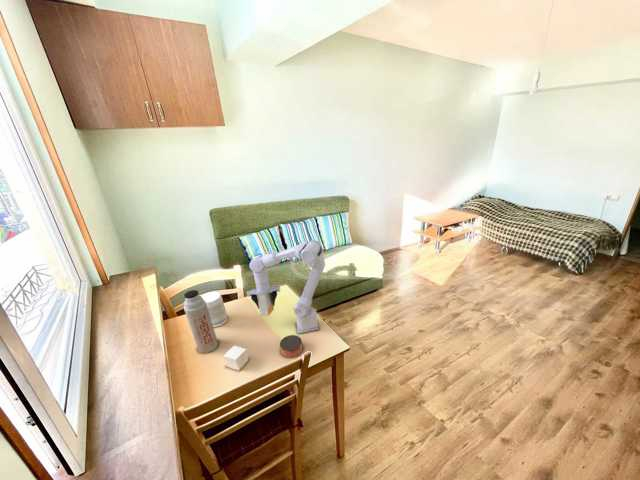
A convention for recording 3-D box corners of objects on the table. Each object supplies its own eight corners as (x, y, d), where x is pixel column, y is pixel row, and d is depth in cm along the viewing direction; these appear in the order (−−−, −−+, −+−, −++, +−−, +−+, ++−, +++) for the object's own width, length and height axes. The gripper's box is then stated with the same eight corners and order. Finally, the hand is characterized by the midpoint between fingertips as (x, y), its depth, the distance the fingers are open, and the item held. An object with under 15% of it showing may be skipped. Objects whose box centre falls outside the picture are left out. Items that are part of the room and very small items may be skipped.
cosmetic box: (268, 316, 130) (264, 295, 124) (260, 315, 130) (256, 294, 125) (274, 309, 135) (271, 288, 129) (266, 308, 136) (262, 287, 130)
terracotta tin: (300, 340, 125) (300, 333, 123) (304, 354, 117) (303, 347, 115) (280, 344, 123) (279, 337, 121) (281, 359, 115) (280, 352, 113)
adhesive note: (238, 370, 110) (235, 359, 107) (226, 366, 112) (223, 355, 109) (248, 359, 115) (246, 348, 112) (236, 355, 117) (234, 345, 114)
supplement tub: (231, 316, 140) (225, 292, 133) (220, 328, 132) (213, 303, 125) (214, 314, 142) (207, 290, 135) (202, 326, 134) (194, 301, 127)
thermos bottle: (218, 348, 121) (202, 295, 108) (198, 355, 117) (179, 301, 104) (217, 337, 127) (201, 285, 114) (197, 343, 124) (179, 290, 111)
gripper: (277, 274, 130) (281, 298, 136) (245, 279, 126) (250, 303, 132) (278, 282, 124) (282, 306, 130) (244, 287, 120) (250, 312, 126)
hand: (266, 305), depth 131 cm, fingers closed on cosmetic box, 6 cm apart
